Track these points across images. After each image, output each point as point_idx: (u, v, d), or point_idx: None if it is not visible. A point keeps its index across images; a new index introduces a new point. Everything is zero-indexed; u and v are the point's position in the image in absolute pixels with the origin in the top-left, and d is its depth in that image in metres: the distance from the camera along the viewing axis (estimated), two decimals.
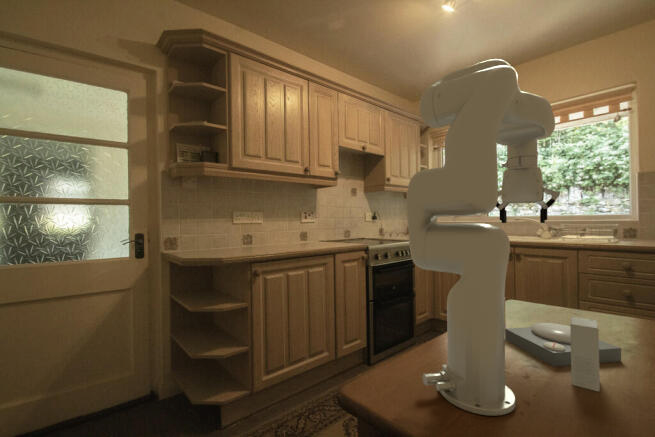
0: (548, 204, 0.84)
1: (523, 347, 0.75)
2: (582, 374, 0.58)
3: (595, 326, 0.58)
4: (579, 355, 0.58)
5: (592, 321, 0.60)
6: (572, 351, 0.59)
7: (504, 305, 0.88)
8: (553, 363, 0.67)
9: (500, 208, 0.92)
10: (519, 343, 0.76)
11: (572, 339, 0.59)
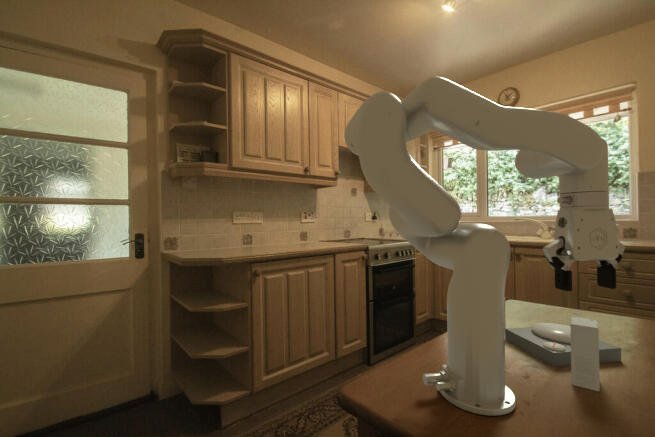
0: None
1: (523, 347, 0.75)
2: (582, 374, 0.58)
3: (595, 326, 0.58)
4: (579, 355, 0.58)
5: (592, 321, 0.60)
6: (572, 351, 0.59)
7: (504, 305, 0.88)
8: (553, 363, 0.67)
9: (566, 268, 0.58)
10: (519, 343, 0.76)
11: (572, 339, 0.59)
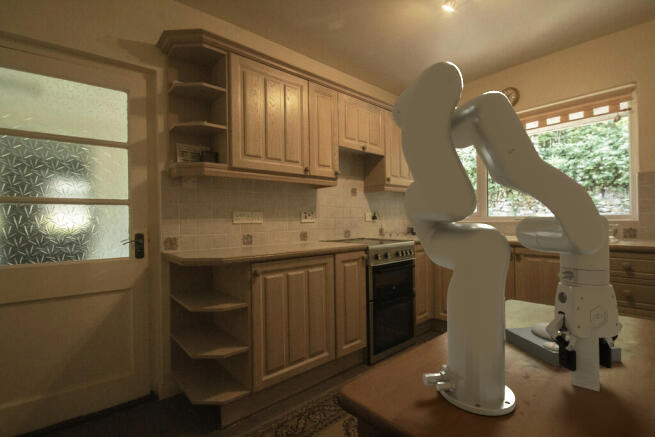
0: None
1: (523, 347, 0.75)
2: (582, 374, 0.58)
3: None
4: (579, 355, 0.58)
5: None
6: None
7: (504, 305, 0.88)
8: (553, 363, 0.67)
9: (570, 348, 0.58)
10: (519, 343, 0.76)
11: None
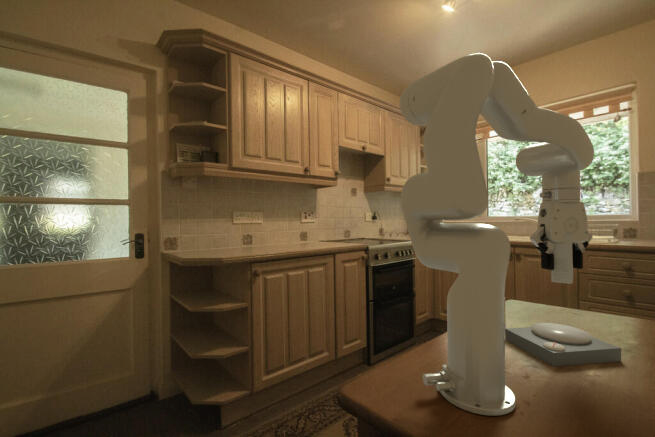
0: (583, 247, 0.75)
1: (523, 347, 0.75)
2: (559, 272, 0.73)
3: (569, 233, 0.73)
4: (557, 257, 0.73)
5: None
6: None
7: (504, 305, 0.88)
8: (553, 363, 0.67)
9: (549, 251, 0.73)
10: (519, 343, 0.76)
11: None
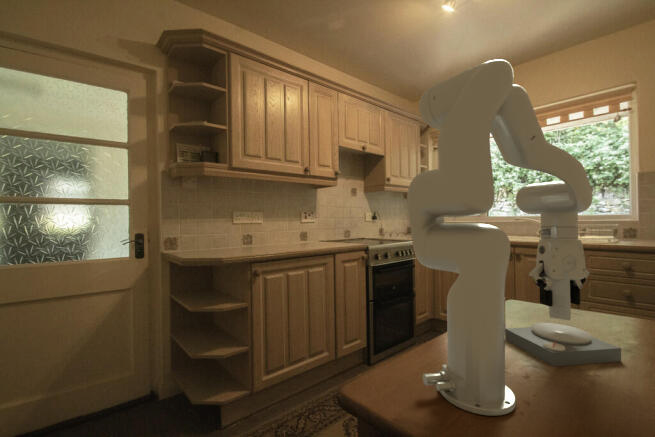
0: None
1: (523, 347, 0.75)
2: (557, 308, 0.75)
3: None
4: (555, 293, 0.75)
5: None
6: None
7: (504, 305, 0.88)
8: (553, 363, 0.67)
9: (547, 288, 0.75)
10: (519, 343, 0.76)
11: None
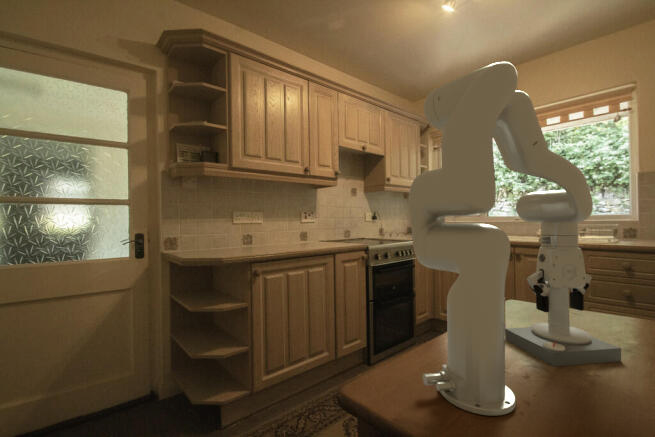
0: (584, 289, 0.77)
1: (523, 347, 0.75)
2: (556, 323, 0.75)
3: None
4: (554, 308, 0.75)
5: None
6: (549, 306, 0.75)
7: (504, 305, 0.88)
8: (553, 363, 0.67)
9: (544, 294, 0.75)
10: (519, 343, 0.76)
11: (549, 296, 0.75)
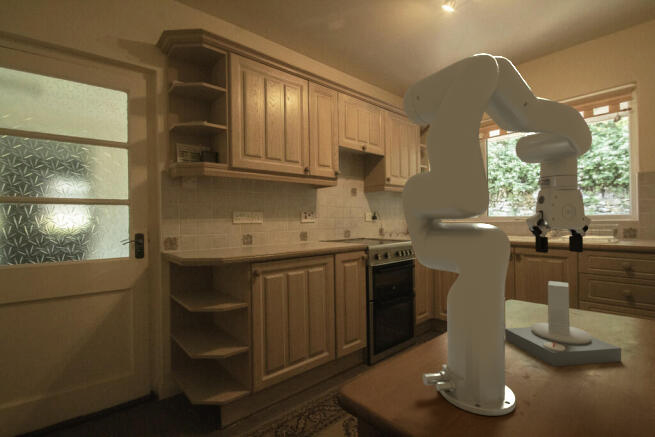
0: None
1: (523, 347, 0.75)
2: (556, 323, 0.75)
3: (566, 285, 0.74)
4: (554, 308, 0.75)
5: (564, 283, 0.77)
6: (549, 306, 0.75)
7: (504, 305, 0.88)
8: (553, 363, 0.67)
9: (543, 235, 0.75)
10: (519, 343, 0.76)
11: (549, 296, 0.75)
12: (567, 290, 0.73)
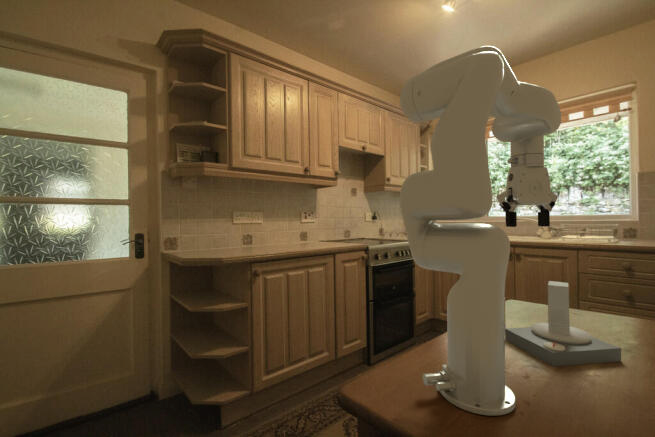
0: (550, 207, 0.82)
1: (523, 347, 0.75)
2: (556, 323, 0.75)
3: (566, 285, 0.74)
4: (554, 308, 0.75)
5: (564, 283, 0.77)
6: (549, 306, 0.75)
7: (504, 305, 0.88)
8: (553, 363, 0.67)
9: (512, 210, 0.80)
10: (519, 343, 0.76)
11: (549, 296, 0.75)
12: (567, 290, 0.73)
